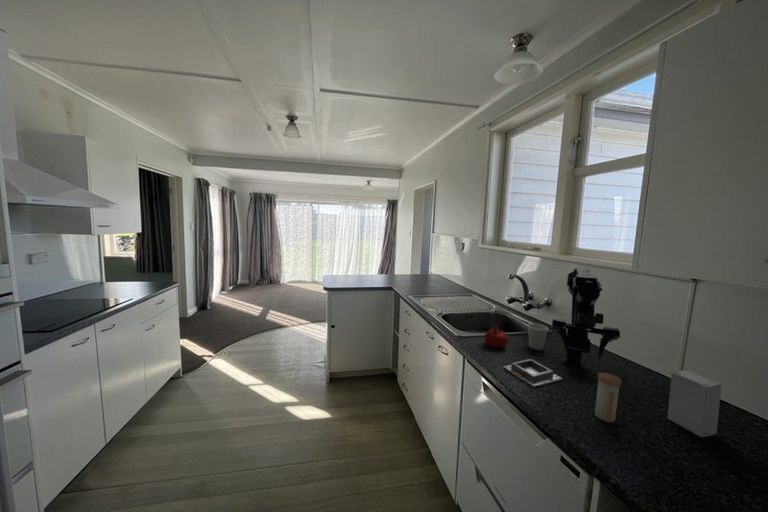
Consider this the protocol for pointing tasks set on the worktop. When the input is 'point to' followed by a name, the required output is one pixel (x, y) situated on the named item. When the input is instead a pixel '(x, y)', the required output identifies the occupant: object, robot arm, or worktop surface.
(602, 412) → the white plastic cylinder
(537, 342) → the dixie cup
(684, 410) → the skincare box
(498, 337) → the pomegranate
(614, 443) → the worktop surface
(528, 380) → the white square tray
